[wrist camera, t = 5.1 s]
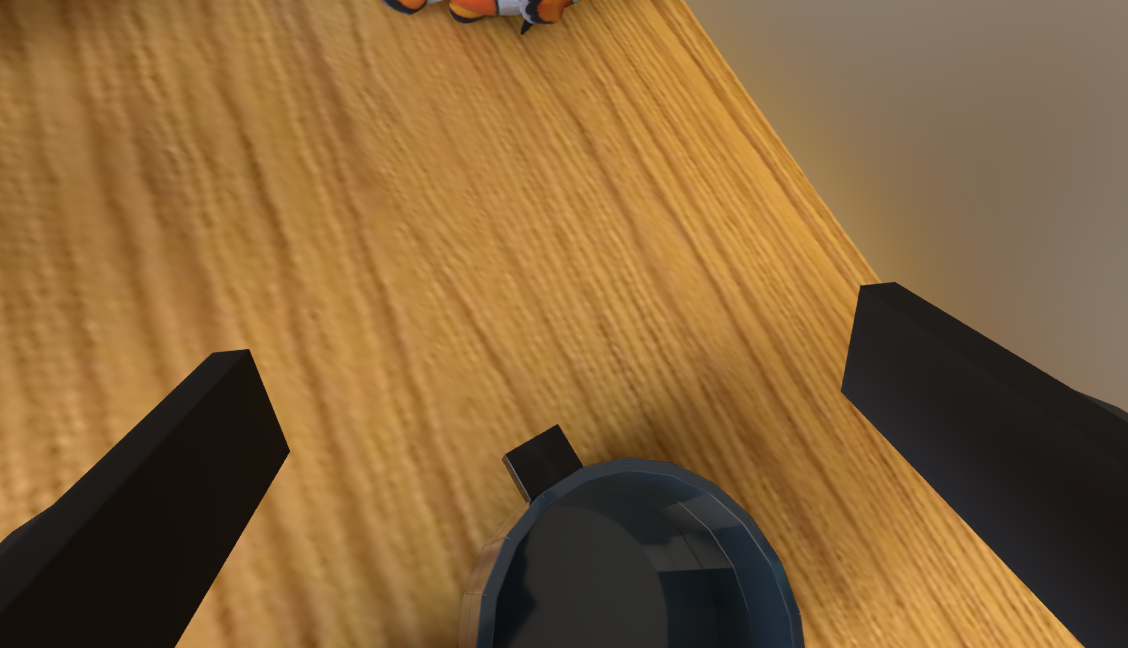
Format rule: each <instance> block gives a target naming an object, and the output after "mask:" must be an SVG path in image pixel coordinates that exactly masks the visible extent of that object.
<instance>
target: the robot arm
mask: <svg viewBox="0 0 1128 648" xmlns="http://www.w3.org/2000/svg"><path fill="white" fill-rule="evenodd" d="M841 392H842V393H843V394H844V395H845V396H846V397H847V398H848V399H849V400H850V401H851V403H852V404H853V405H854V406H855V407H856V408H857V409H858V410H859V411H860V412H861V413H862V414H863V415H864V416H865V417H866V418H867V419H868V420H869V421H870V422H871V423H872V425H873V426H874V427H875V428H876V429H877V430H878V431H879V432H880V433H881V434H882V435H883V436H884V437H885V438H886V439H887V440H888V441H889V442H890V443H891V444H892V446H893V447H894V448H895V449H896V450H897V451H898V452H899V453H900V454H901V455H902V456H903V457H904V458H905V459H906V460H907V461H908V462H909V463H910V464H911V465H912V467H913V468H914V469H915V470H916V471H917V472H918V473H919V474H920V475H921V476H922V477H923V478H924V479H925V480H926V481H927V482H928V483H929V484H930V485H931V486H932V487H933V489H934V490H935V491H936V492H937V493H938V494H939V495H940V496H941V497H942V498H943V499H944V500H945V501H946V502H947V503H948V504H949V505H950V506H951V507H952V508H953V510H954V511H955V512H956V513H957V514H958V515H959V516H960V517H961V518H962V519H963V520H964V521H965V522H966V523H967V524H968V525H969V526H970V527H971V528H972V529H973V530H974V532H975V533H976V534H977V535H978V536H979V537H980V538H981V539H982V540H983V541H984V542H985V543H986V544H987V545H988V546H989V547H990V548H991V549H992V550H993V551H994V553H995V554H996V555H997V556H998V557H999V558H1000V559H1001V560H1002V561H1003V562H1004V563H1005V564H1006V565H1007V566H1008V567H1009V568H1010V569H1011V570H1012V571H1013V572H1014V574H1015V575H1016V576H1017V577H1018V578H1019V579H1020V580H1021V581H1022V582H1023V583H1024V584H1025V585H1026V586H1027V587H1028V588H1029V589H1030V590H1031V591H1032V592H1033V593H1034V594H1035V596H1036V597H1037V598H1038V599H1039V600H1040V601H1041V602H1042V603H1043V604H1044V605H1045V606H1046V607H1047V608H1048V609H1049V610H1050V611H1051V612H1052V613H1053V614H1054V615H1055V617H1056V618H1057V619H1058V620H1059V621H1060V622H1061V623H1062V624H1063V625H1064V626H1065V627H1066V628H1067V629H1068V630H1069V631H1070V632H1071V633H1072V634H1073V635H1074V636H1075V638H1076V639H1077V640H1078V641H1079V642H1080V643H1081V644H1082V645H1083V646H1084V647H1085V648H1128V413H1127V412H1125V411H1123V410H1121V409H1120V408H1118V407H1116V406H1113V405H1111V404H1108V403H1106V402H1103V401H1101V400H1098V399H1096V398H1093V397H1091V396H1088V395H1085V394H1083V393H1080V392H1077V391H1075V390H1073V389H1071V388H1070V387H1068V386H1067V385H1065V384H1063V383H1062V382H1060V381H1058V380H1057V379H1055V378H1053V377H1052V376H1050V375H1048V374H1047V373H1045V372H1043V371H1042V370H1040V369H1038V368H1037V367H1035V366H1033V365H1032V364H1030V363H1028V362H1027V361H1025V360H1023V359H1022V358H1020V357H1018V356H1017V355H1015V354H1013V353H1012V352H1010V351H1009V350H1007V349H1005V348H1003V347H1002V346H1000V345H999V344H997V343H995V342H994V341H992V340H990V339H989V338H987V337H985V336H983V335H982V334H980V333H979V332H977V331H975V330H974V329H972V328H970V327H969V326H967V325H965V324H964V323H962V322H960V321H959V320H957V319H955V318H954V317H952V316H950V315H949V314H947V313H946V312H944V311H942V310H941V309H939V308H937V307H935V306H934V305H932V304H931V303H929V302H927V301H926V300H924V299H922V298H921V297H919V296H917V295H916V294H914V293H912V292H911V291H909V290H907V289H906V288H904V287H902V286H901V285H899V284H897V283H896V282H890V283H881V284H871V285H861V286H860V291H859V296H858V302H857V307H856V312H855V318H854V323H853V328H852V334H851V339H850V345H849V350H848V355H847V361H846V366H845V372H844V377H843V382H842V388H841ZM289 452H290V450H289V447H288V445H287V442H286V440H285V437H284V435H283V432H282V430H281V427H280V425H279V422H278V420H277V417H276V415H275V412H274V410H273V407H272V405H271V402H270V400H269V397H268V395H267V392H266V390H265V387H264V385H263V382H262V380H261V377H260V375H259V372H258V370H257V367H256V365H255V362H254V360H253V357H252V355H251V352H250V350H249V349H245V350H235V351H225V352H216V353H212V354H211V355H210V356H209V357H207V358H206V359H205V360H204V361H203V362H202V363H201V364H200V365H199V366H198V367H197V368H196V369H195V370H194V371H193V372H192V373H191V374H190V375H189V376H188V377H187V378H185V379H184V380H183V381H182V382H181V383H180V384H179V385H178V386H177V387H176V388H175V389H174V390H173V391H172V392H171V393H170V394H169V395H168V396H167V397H166V398H165V399H163V400H162V401H161V402H160V403H159V404H158V405H157V406H156V407H155V408H154V409H153V410H152V411H151V412H150V413H149V414H148V415H147V416H146V417H145V418H144V419H142V420H141V421H140V422H139V423H138V424H137V425H136V426H135V427H134V428H133V429H132V430H131V431H130V432H129V433H128V434H127V435H126V436H125V437H124V438H123V439H122V440H120V441H119V442H118V443H117V444H116V445H115V446H114V447H113V448H112V449H111V450H110V451H109V452H108V453H107V454H106V455H105V456H104V457H103V458H102V459H101V460H100V461H98V462H97V463H96V464H95V465H94V466H93V467H92V468H91V469H90V470H89V471H88V472H87V473H86V474H85V475H84V476H83V477H82V478H81V479H80V480H79V481H78V482H76V483H75V484H74V485H73V486H72V487H71V488H70V489H69V490H68V491H67V492H66V493H65V494H64V495H63V496H62V497H61V498H60V499H59V500H58V501H57V502H56V503H54V504H53V505H52V506H51V507H49V508H48V509H46V510H45V511H43V512H42V513H40V514H39V515H37V516H36V517H34V518H33V519H31V520H30V521H28V522H27V523H25V524H24V525H22V526H21V527H19V528H18V529H16V530H15V531H13V532H12V533H11V534H9V535H8V536H7V537H6V538H5V539H4V540H3V541H2V542H1V543H0V648H175V646H176V644H177V643H178V641H179V639H180V638H181V636H182V634H183V633H184V631H185V629H186V627H187V626H188V624H189V622H190V621H191V619H192V617H193V616H194V614H195V612H196V610H197V609H198V607H199V605H200V604H201V602H202V600H203V599H204V597H205V595H206V593H207V592H208V590H209V588H210V587H211V585H212V583H213V582H214V580H215V578H216V576H217V575H218V573H219V571H220V570H221V568H222V566H223V565H224V563H225V561H226V559H227V558H228V556H229V554H230V553H231V551H232V549H233V548H234V546H235V544H236V543H237V541H238V539H239V537H240V536H241V534H242V532H243V531H244V529H245V527H246V526H247V524H248V522H249V520H250V519H251V517H252V515H253V514H254V512H255V510H256V509H257V507H258V505H259V503H260V502H261V500H262V498H263V497H264V495H265V493H266V492H267V490H268V488H269V486H270V485H271V483H272V481H273V480H274V478H275V476H276V475H277V473H278V471H279V469H280V468H281V466H282V464H283V463H284V461H285V459H286V458H287V456H288V454H289Z"/></svg>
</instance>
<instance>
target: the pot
mask: <svg viewBox="0 0 1128 648" xmlns="http://www.w3.org/2000/svg"><path fill="white" fill-rule="evenodd" d="M458 648H805V644H804V637H803V629H802V621H801V615H800V611H799V608H798V605H797V603H796V600H795V597H794V595H793V592H792V589H791V586H790V584H789V581H788V578H787V576H786V573H785V570H784V568H783V565H782V562H781V561H780V558H779V557H778V555H777V554H776V552H775V551H774V549H773V548H772V546H771V545H770V543H769V542H768V540H767V539H766V537H765V536H764V534H763V533H762V531H761V530H760V528H759V527H758V525H757V524H756V522H755V521H754V519H753V518H752V517H751V516H750V514H749V513H747V512H746V511H745V510H744V509H743V508H742V507H741V506H740V505H738V504H737V503H736V502H735V501H734V500H733V499H732V498H731V497H729V496H728V495H727V494H726V493H725V492H724V491H723V490H722V489H720V488H719V487H718V486H717V485H716V484H715V483H713V482H712V481H709V480H707V479H705V478H703V477H701V476H699V475H697V474H695V473H693V472H690V471H688V470H686V469H684V468H682V467H680V466H678V465H676V464H674V463H671V462H664V461H656V460H648V459H640V458H632V457H627V458H626V457H624V458H620V459H616V460H611V461H607V462H602V463H598V464H593V465H589V466H585V467H582V468H580V469H578V470H576V471H575V472H573V473H572V474H570V475H569V476H567V477H565V478H564V479H562V480H561V481H559V482H558V483H556V484H554V485H553V486H551V487H550V488H548V489H547V490H545V491H543V492H542V493H540V494H539V495H538V496H537V497H535V498H534V499H533V500H532V501H530V502H528V503H525V504H523V505H521V506H520V507H518V508H517V509H515V510H514V511H513V512H512V513H511V514H510V515H509V516H508V518H507V519H506V520H505V521H504V522H503V523H502V524H501V525H500V526H499V528H498V529H497V530H496V531H495V533H494V534H493V535H492V536H491V538H490V539H489V541H488V542H487V543H486V544H485V547H483V549H482V552H481V553H480V555H479V557H478V559H477V562H476V564H475V566H474V568H473V570H472V572H471V575H470V578H469V581H468V584H467V587H466V590H465V593H464V598H463V603H462V608H461V612H460V621H459V632H458Z"/></svg>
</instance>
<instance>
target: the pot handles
mask: <svg viewBox="0 0 1128 648" xmlns="http://www.w3.org/2000/svg"><path fill="white" fill-rule="evenodd" d="M502 461H503V463H504V464H505V466H506V468H507V470H508V472H509V473H510V475H511V477H512V479H513V481H514V482H515V484H516V486H517V488H518V489H519V491H520V493H521V495H522V497H523V498H524V500H525V502H526V503H528V502H530V501H532V500H533V499H534V498H535V497H537V496H538V495H539V494H540V493H542V492H543V491H545V490H547V489H548V488H550V487H551V486H553V485H554V484H556V483H558V482H559V481H561V480H562V479H564V478H565V477H567V476H569V475H570V474H572V473H573V472H575V471H576V470H578V469H580V468H582V467H583V465H582V463H581V462H580V460H579V458H578V457H577V455H576V453H575V452H574V450H573V448H572V447H571V445H570V443H569V442H568V440H567V438H566V437H565V435H564V433H563V432H562V430H561V428H560V427H559V425H558V424H557V425H555V426H553V427H552V428H550V429H548V430H546V431H545V432H543V433H541V434H539V435H538V436H536V437H534V438H533V439H531V440H529V441H527V442H526V443H524V444H522V445H520V446H519V447H517V448H515V449H513V450H512V451H510V452H508V453H506V454H505V455H504V456H503V458H502Z"/></svg>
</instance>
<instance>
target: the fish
mask: <svg viewBox="0 0 1128 648" xmlns="http://www.w3.org/2000/svg"><path fill="white" fill-rule="evenodd" d="M381 1H382V2H383V3H384V4H385V5H386V6H388V7H389V8H391V9H393V10H396V11H398V12H401V13H403V14H407V15H411V14H414V13H416V12H418V11H419V10H421V9H422V8H424V7H426V6H428V5H430V4H431V3H435V2H439V1H444V0H381ZM579 1H580V0H449V10H450V13H451V14H452V16H453V17H454V19H455V20H456V21H458V22H461V23H471V22H474V21H476V20H478V19H480V18H482V17H484V16H487V15H497V16H513V15H523V17H524V18H525V20H524V23H523V26H522V28H521V33H520V34H521V35H523V34H524V33H525V32H526V31H527V30H529V29H530V27H532V26H533V25H534V24H555V23H557V22H558V20H559V19H560V17H561V15H562V13H563V10H564V8H565V7H568V6H570V5H572V4H574V3H577V2H579Z"/></svg>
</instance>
